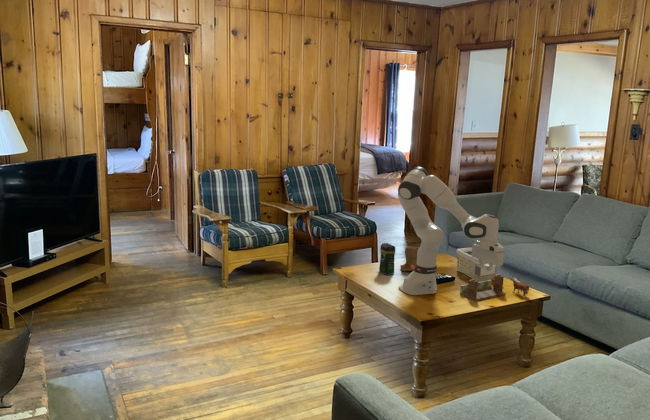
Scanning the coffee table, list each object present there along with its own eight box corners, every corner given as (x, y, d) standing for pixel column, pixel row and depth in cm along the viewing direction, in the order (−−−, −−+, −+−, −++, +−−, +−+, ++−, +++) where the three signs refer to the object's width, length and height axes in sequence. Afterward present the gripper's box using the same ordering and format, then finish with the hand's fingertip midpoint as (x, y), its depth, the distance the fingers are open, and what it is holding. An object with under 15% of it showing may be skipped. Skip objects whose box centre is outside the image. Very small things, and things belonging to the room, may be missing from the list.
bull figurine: (513, 289, 318) (515, 276, 316) (529, 297, 305) (531, 284, 304) (507, 290, 316) (509, 276, 314) (523, 298, 304) (525, 284, 302)
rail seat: (475, 301, 297) (477, 282, 295) (460, 294, 307) (461, 275, 305) (505, 294, 308) (507, 276, 306) (489, 288, 318) (491, 270, 316)
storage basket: (498, 280, 333) (500, 257, 330) (476, 282, 327) (478, 259, 324) (474, 268, 355) (476, 246, 352) (453, 270, 349) (455, 248, 346)
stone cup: (416, 265, 356) (418, 243, 353) (425, 271, 345) (427, 248, 342) (395, 267, 351) (397, 245, 348) (403, 273, 340) (405, 250, 337)
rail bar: (479, 276, 288) (480, 267, 287) (474, 274, 291) (475, 265, 290) (495, 273, 294) (496, 265, 293) (490, 271, 297) (491, 263, 296)
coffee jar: (396, 274, 337) (397, 245, 334) (385, 275, 334) (386, 246, 330) (387, 269, 346) (389, 241, 342) (377, 271, 343) (378, 242, 339)
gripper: (469, 240, 296) (467, 264, 299) (498, 250, 279) (495, 275, 282) (478, 239, 299) (475, 263, 302) (506, 248, 282) (503, 274, 285)
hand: (485, 269), depth 292 cm, fingers closed on rail bar, 3 cm apart
